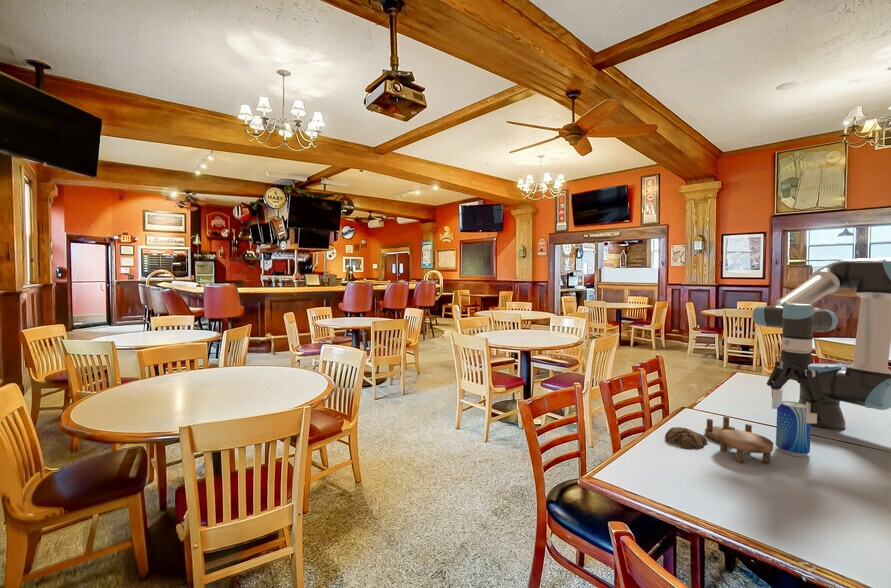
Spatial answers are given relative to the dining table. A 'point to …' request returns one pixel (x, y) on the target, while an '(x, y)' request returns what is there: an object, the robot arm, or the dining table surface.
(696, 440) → the bread roll
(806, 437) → the beer can
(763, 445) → the footstool
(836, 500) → the dining table surface
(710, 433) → the upturned footstool
